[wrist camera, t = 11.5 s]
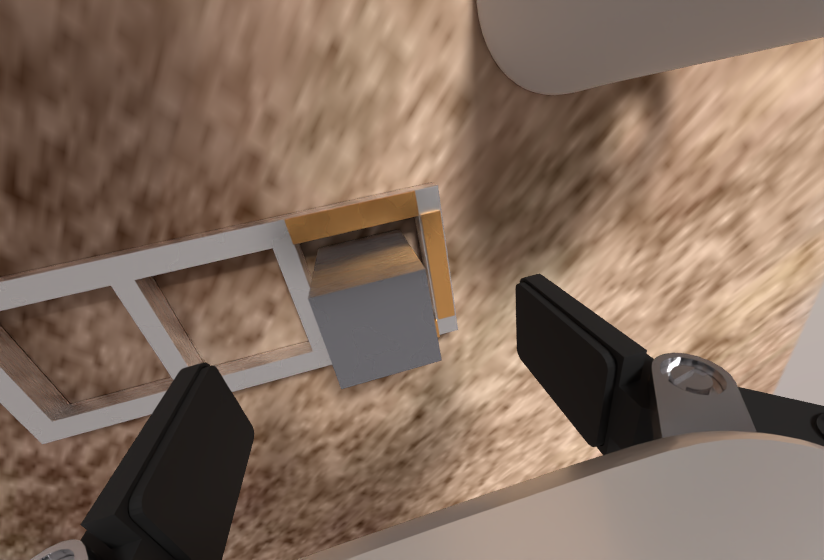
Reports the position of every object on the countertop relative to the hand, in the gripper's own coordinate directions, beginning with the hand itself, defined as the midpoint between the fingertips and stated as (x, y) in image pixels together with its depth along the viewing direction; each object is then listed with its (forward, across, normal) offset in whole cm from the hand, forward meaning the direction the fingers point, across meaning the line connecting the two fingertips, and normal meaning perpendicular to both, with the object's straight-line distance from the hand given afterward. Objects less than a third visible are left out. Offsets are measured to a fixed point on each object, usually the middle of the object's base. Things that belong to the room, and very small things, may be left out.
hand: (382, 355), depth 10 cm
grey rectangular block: (+8, 0, +1) cm, 9 cm away
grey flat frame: (+8, +7, +1) cm, 11 cm away
